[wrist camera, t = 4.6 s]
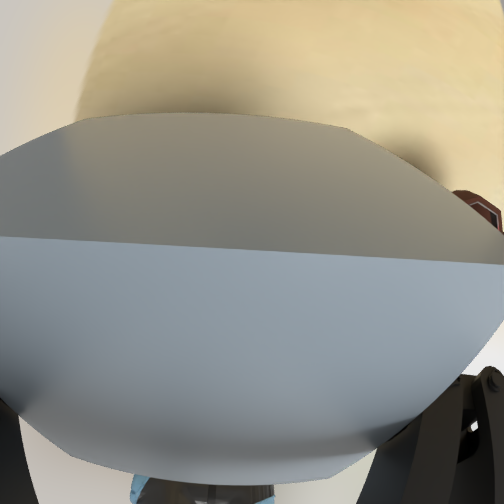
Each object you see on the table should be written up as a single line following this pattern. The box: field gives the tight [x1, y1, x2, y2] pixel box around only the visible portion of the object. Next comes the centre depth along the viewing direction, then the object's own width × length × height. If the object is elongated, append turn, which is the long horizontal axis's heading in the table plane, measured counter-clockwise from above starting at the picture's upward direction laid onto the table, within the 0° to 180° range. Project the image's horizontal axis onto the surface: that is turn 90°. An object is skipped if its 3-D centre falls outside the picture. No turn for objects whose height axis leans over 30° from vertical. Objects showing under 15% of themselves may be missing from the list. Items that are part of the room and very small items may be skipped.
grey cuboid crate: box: [0, 113, 504, 485], centre depth 8 cm, size 10×10×9 cm
